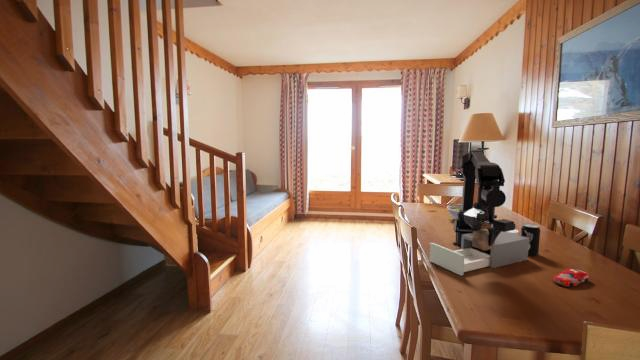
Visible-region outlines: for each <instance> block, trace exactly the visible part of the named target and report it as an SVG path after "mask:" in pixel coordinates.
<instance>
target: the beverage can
mask: <svg viewBox="0 0 640 360" xmlns="http://www.w3.org/2000/svg"><path fill="white" fill-rule="evenodd" d="M520 236H523V237H526V238H529V247H528V256H530V257H531V256H533V257H535V256H537V255H538V254H539V251H540V249H539V248H540V240H541V237H540V236H541V229H540V225H539V224H534V223H529V222H528V223H522V226H521V227H520Z"/></svg>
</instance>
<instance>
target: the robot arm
mask: <svg viewBox="0 0 640 360" xmlns="http://www.w3.org/2000/svg"><path fill="white" fill-rule="evenodd" d="M458 165H459V169H460V172H461V174H462V176H463V183H462V184H463V185H462V197H461V204H462V207H461V210H460V211H459V212H458V214H457V218H455V220H454V222H453V225H452V226H453V231H454V233H455V241H454V242H452V244H453V245H456V246H458V247H460V248H461V237H462V235H463V234H469V233H473V231H477V230H482V225H483V223H484V224H488V225H491V226H490V227H487V228H486V230H488V231H489V240H488V244H489V246H492V244H493V243H494V241H495V240H496V238H497V236H498V235H499V234H500V233H501V231H502V232H507V231H511V230H515V229H516V223H515V221H512V220H510V219H505V218H500V219H497V218H498V215H496V213H495V212H496V208H499V207H501V206H503V205H504V204H505V202H506V200H507V197H506V194H505V192H504V191H503V190H501V189H500V188H501V187H504V186H505V182H506V180H505V176H504V172H503V169H502V167H500V165H499V164H497V163H495V162H491V161H490V160H489V158H487V156H486V155H485V153H484V150H481V149H471V150H469V151H468V152H467V153H465V154H463V155H461V157H460V160H459V164H458ZM476 184H477V197H476V198H477V199H476V202H474V200H475V190H476V189H475V188H476ZM473 205H474V207H473Z"/></svg>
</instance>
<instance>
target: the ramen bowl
mask: <svg viewBox="0 0 640 360" xmlns="http://www.w3.org/2000/svg"><path fill="white" fill-rule="evenodd" d="M461 207H462V203H461V204H460V203H459V204H448V205H446V209H447V210H448V211H447V212H449V214H450V215H451V216H452V217H453V218H455V219H457V214H458V212H459V211H460V210H461ZM473 207H474V204H473Z"/></svg>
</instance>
